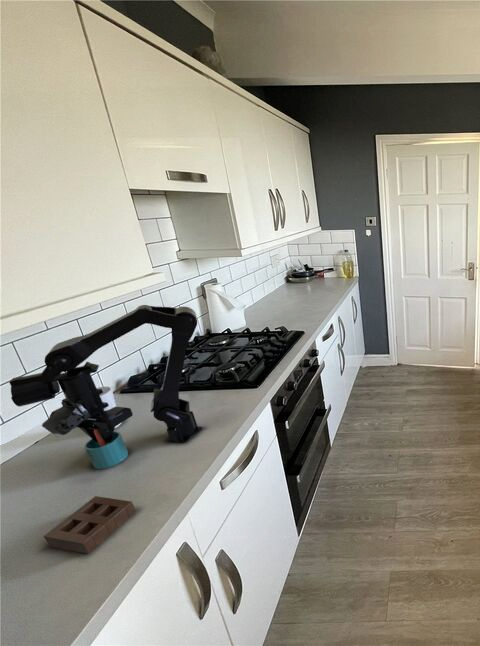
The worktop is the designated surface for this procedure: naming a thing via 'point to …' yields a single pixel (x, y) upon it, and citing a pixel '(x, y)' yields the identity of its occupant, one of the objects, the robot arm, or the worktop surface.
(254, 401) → the worktop surface
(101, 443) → the red rod
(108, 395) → the cup
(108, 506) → the stand
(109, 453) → the teal round container
